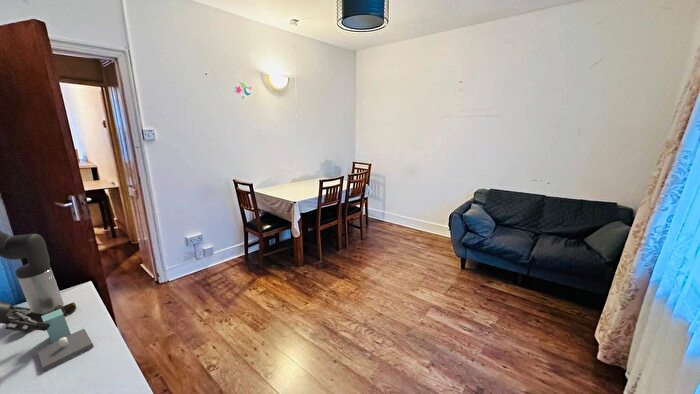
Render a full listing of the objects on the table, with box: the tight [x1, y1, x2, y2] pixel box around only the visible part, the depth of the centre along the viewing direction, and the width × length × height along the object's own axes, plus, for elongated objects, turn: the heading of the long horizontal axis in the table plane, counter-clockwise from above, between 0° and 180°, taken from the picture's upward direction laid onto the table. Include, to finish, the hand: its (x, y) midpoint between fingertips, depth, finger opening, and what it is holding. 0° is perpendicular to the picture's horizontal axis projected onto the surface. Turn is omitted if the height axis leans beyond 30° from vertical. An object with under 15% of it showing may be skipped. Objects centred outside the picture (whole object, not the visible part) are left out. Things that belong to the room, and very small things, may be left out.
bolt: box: [23, 301, 77, 334], centre depth 111 cm, size 6×5×15 cm
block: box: [41, 309, 72, 343], centre depth 102 cm, size 5×5×9 cm
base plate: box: [36, 328, 94, 372], centre depth 96 cm, size 12×12×4 cm
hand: (46, 322), depth 100 cm, fingers open, 8 cm apart
